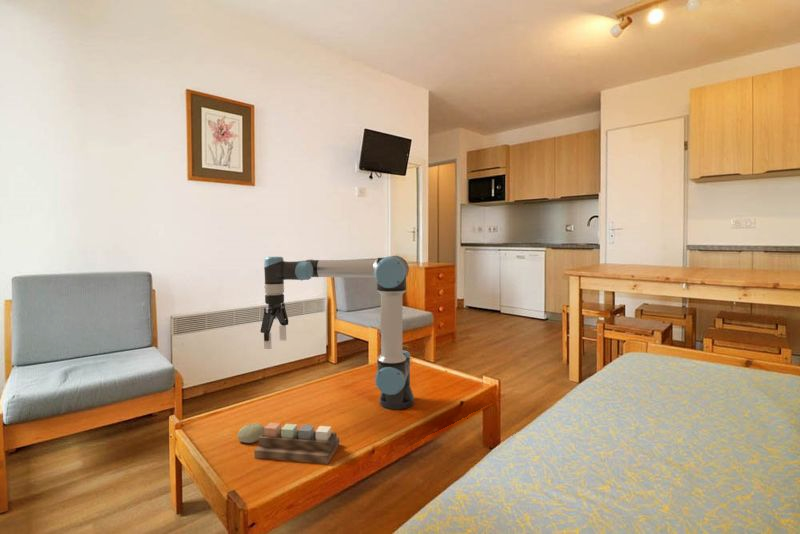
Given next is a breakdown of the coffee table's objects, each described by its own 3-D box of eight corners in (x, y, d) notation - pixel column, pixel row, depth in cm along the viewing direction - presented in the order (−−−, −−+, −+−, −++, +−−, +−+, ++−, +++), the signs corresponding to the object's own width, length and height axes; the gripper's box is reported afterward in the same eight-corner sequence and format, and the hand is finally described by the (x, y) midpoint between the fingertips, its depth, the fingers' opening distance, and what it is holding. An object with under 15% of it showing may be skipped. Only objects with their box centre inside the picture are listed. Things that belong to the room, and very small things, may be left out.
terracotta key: (280, 433, 135) (280, 423, 135) (275, 438, 131) (275, 428, 131) (270, 432, 136) (269, 422, 136) (264, 438, 132) (264, 427, 132)
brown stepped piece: (339, 444, 137) (339, 429, 136) (328, 463, 125) (327, 447, 125) (271, 439, 140) (271, 424, 140) (254, 457, 128) (254, 441, 128)
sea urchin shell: (240, 427, 145) (255, 412, 145) (255, 441, 146) (271, 426, 146) (231, 440, 136) (248, 423, 136) (248, 455, 137) (264, 438, 137)
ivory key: (331, 436, 133) (331, 426, 132) (327, 442, 129) (327, 432, 129) (319, 435, 133) (319, 425, 133) (315, 441, 129) (315, 431, 129)
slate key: (314, 435, 134) (314, 425, 133) (309, 441, 130) (309, 431, 129) (303, 434, 134) (302, 424, 134) (298, 440, 130) (298, 430, 130)
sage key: (297, 434, 134) (297, 424, 134) (292, 440, 130) (292, 429, 130) (286, 433, 135) (286, 423, 135) (281, 439, 131) (281, 429, 131)
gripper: (279, 290, 175) (280, 336, 177) (250, 297, 151) (251, 352, 152) (295, 290, 174) (296, 337, 175) (268, 298, 150) (269, 353, 151)
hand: (275, 344), depth 164 cm, fingers open, 13 cm apart
